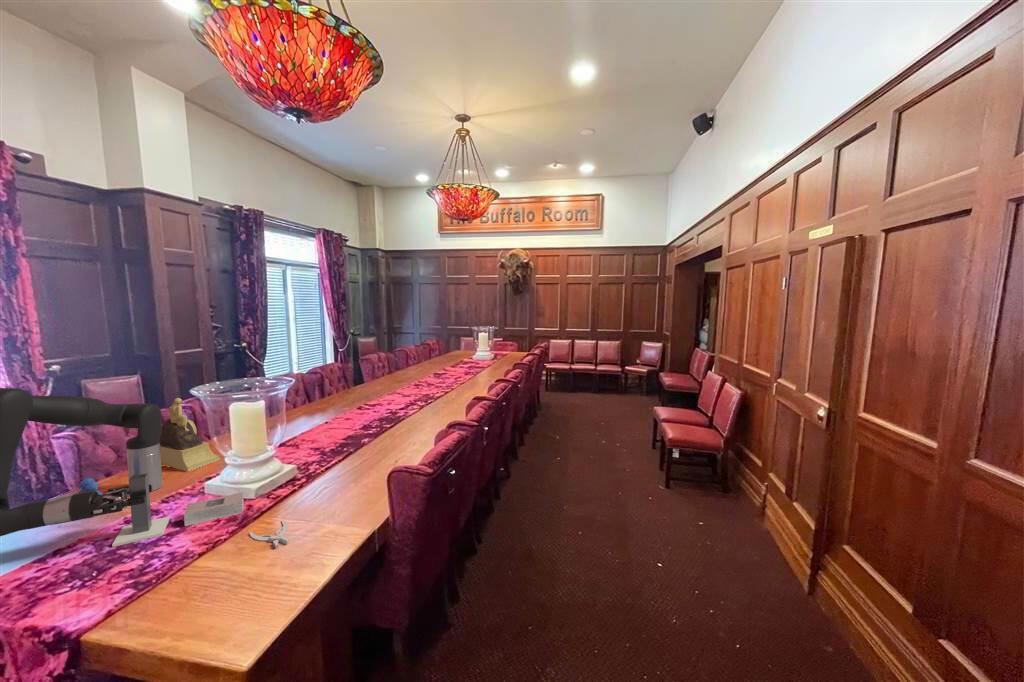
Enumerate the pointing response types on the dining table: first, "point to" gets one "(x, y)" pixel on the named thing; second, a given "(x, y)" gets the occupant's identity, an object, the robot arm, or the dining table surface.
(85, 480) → the grapes
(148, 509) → the steel peg
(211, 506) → the grey slotted block
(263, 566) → the dining table surface
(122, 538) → the sage pad
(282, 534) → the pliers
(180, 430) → the seated figure statue
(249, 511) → the dining table surface
